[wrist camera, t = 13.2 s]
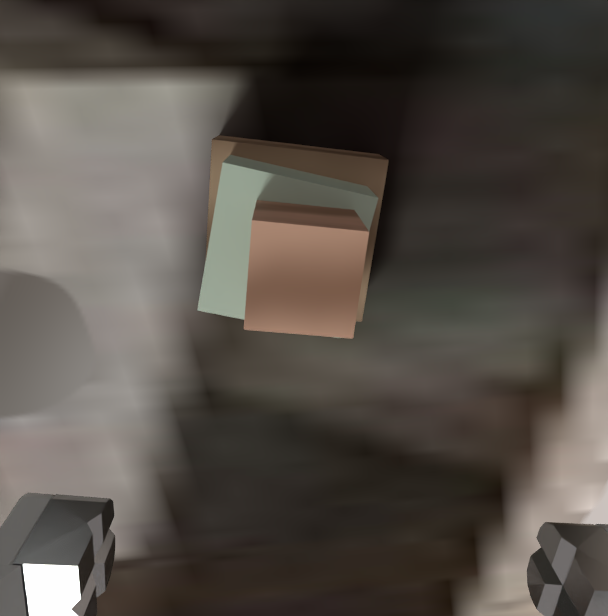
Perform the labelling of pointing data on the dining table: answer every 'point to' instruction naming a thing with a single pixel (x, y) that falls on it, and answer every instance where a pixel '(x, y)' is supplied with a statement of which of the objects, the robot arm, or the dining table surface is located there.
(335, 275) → the terracotta cube
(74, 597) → the robot arm
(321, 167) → the walnut block
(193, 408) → the dining table surface
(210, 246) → the sage block
